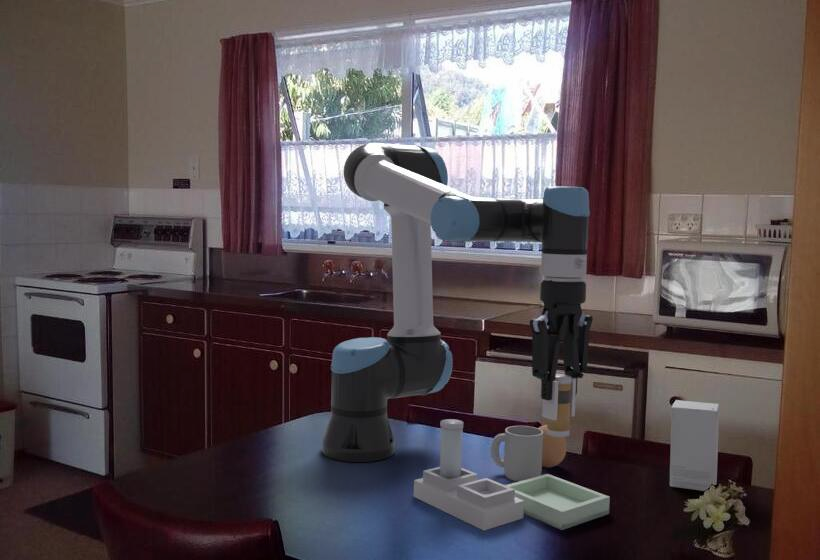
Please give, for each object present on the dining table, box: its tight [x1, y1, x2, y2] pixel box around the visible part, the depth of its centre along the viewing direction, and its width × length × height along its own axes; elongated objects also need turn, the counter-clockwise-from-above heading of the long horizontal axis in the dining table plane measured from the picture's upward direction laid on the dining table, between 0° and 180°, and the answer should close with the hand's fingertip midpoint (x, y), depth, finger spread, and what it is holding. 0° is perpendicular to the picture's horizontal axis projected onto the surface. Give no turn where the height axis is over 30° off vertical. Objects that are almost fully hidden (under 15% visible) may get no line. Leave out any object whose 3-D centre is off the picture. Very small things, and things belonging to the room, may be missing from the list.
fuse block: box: [413, 418, 524, 532], centre depth 133 cm, size 18×9×14 cm, turn 38°
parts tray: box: [504, 473, 611, 531], centre depth 134 cm, size 14×12×3 cm
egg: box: [538, 424, 567, 469], centre depth 156 cm, size 7×7×8 cm
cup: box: [490, 425, 543, 482], centre depth 150 cm, size 7×10×9 cm
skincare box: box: [669, 399, 720, 492], centre depth 147 cm, size 8×7×16 cm
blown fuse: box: [546, 373, 572, 438], centre depth 132 cm, size 4×4×10 cm
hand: (558, 416), depth 132 cm, fingers closed on blown fuse, 4 cm apart
